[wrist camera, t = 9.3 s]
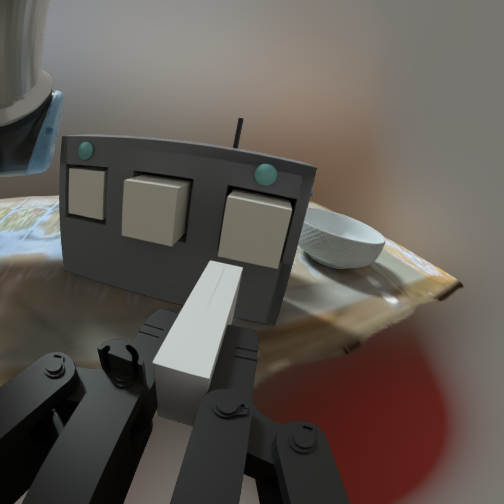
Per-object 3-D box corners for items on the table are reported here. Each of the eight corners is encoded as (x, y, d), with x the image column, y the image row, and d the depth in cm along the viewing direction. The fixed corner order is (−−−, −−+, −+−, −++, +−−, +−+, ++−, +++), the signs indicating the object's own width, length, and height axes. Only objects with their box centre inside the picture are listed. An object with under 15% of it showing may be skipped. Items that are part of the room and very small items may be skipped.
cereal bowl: (301, 278, 39) (314, 232, 36) (275, 236, 54) (283, 202, 51) (389, 285, 43) (404, 247, 40) (348, 246, 57) (357, 216, 55)
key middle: (172, 246, 23) (177, 188, 21) (121, 235, 23) (124, 180, 21) (186, 231, 26) (192, 181, 24) (140, 222, 26) (144, 174, 24)
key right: (277, 268, 22) (291, 210, 21) (217, 256, 23) (227, 196, 21) (277, 250, 26) (289, 200, 24) (226, 240, 26) (234, 188, 24)
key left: (102, 219, 25) (104, 171, 23) (68, 213, 25) (69, 168, 23) (121, 210, 29) (124, 167, 27) (88, 204, 29) (90, 163, 27)
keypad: (274, 327, 27) (317, 168, 21) (62, 271, 27) (59, 136, 21) (275, 295, 33) (308, 163, 27) (89, 251, 33) (93, 134, 27)
